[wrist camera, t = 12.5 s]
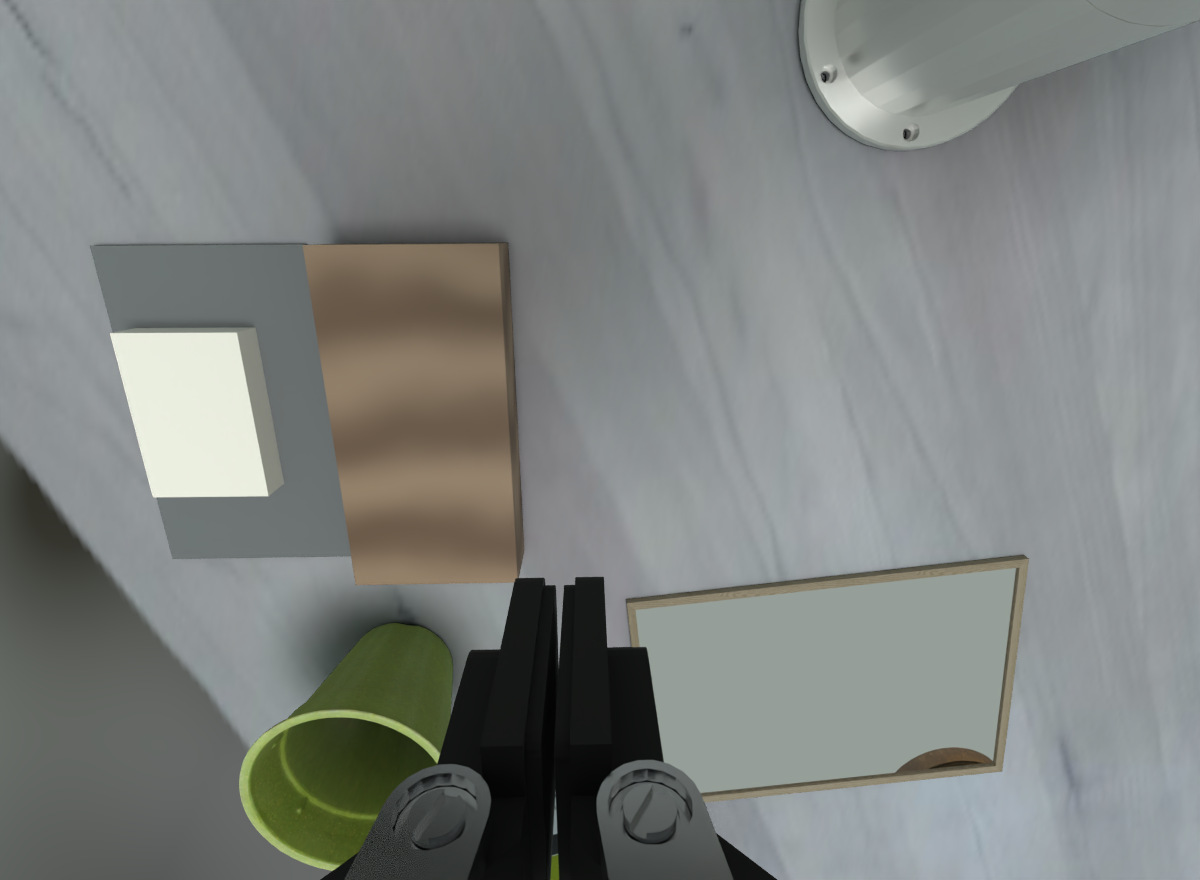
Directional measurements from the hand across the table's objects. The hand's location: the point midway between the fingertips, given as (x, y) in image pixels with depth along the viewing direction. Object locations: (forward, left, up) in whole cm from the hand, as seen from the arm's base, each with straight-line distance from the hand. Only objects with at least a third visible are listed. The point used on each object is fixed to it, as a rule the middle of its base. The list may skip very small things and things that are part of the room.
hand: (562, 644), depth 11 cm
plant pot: (+22, -13, -27) cm, 37 cm away
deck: (+3, -9, -27) cm, 29 cm away
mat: (+3, -22, -27) cm, 35 cm away
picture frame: (+25, +18, -28) cm, 41 cm away
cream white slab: (+3, -23, -25) cm, 34 cm away
